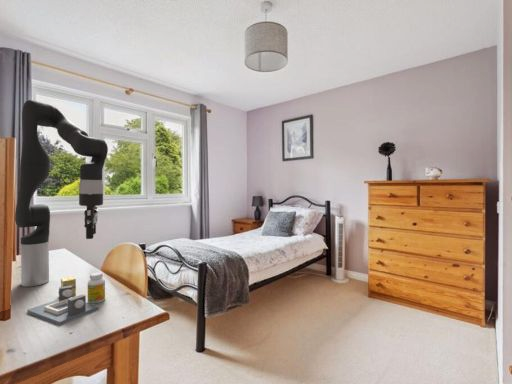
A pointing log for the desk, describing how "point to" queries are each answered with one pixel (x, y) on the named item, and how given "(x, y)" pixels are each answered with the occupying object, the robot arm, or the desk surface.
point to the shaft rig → (63, 307)
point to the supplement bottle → (96, 288)
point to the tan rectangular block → (69, 283)
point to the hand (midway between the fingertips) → (91, 236)
